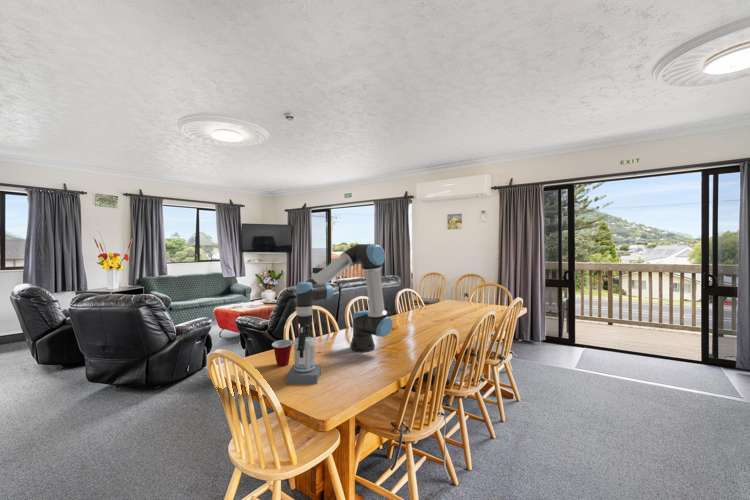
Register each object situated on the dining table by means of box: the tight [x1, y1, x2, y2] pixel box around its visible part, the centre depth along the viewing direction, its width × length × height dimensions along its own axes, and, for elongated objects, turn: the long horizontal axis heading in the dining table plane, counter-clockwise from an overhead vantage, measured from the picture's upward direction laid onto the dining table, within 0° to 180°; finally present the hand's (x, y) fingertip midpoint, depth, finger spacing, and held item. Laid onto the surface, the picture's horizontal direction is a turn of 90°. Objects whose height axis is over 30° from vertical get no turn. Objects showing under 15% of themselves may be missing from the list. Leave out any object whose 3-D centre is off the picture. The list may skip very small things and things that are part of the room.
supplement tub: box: [293, 336, 316, 372], centre depth 165 cm, size 10×10×15 cm
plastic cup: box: [271, 339, 294, 367], centre depth 183 cm, size 11×11×12 cm
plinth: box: [285, 363, 322, 385], centre depth 165 cm, size 14×14×4 cm
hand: (304, 359), depth 165 cm, fingers open, 12 cm apart
